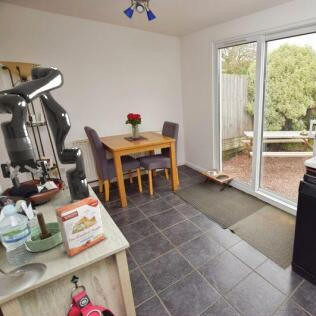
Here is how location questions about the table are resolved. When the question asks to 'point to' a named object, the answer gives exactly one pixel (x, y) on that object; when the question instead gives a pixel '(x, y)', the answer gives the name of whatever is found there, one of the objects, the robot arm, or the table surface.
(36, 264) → the table surface
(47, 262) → the table surface
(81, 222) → the cracker box
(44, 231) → the pestle
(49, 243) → the bowl
